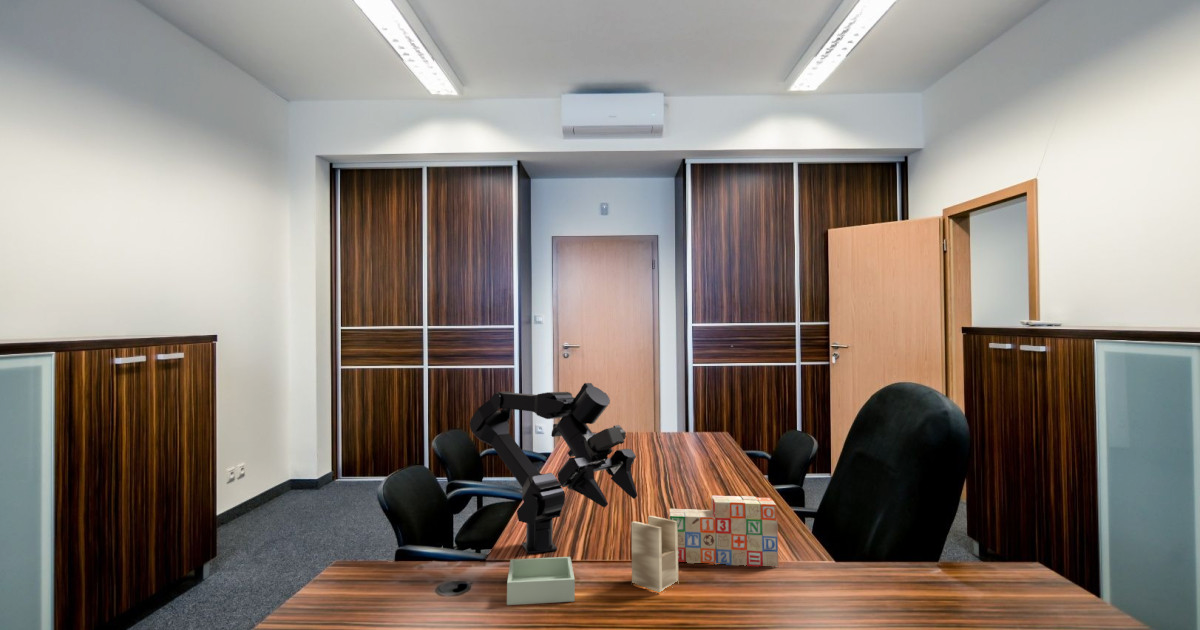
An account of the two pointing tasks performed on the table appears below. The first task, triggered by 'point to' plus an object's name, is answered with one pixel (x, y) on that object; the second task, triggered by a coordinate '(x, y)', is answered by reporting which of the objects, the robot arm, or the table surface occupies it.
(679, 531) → the stack of blocks
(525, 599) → the box
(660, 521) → the small magazine holder
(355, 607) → the table surface
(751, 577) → the table surface
